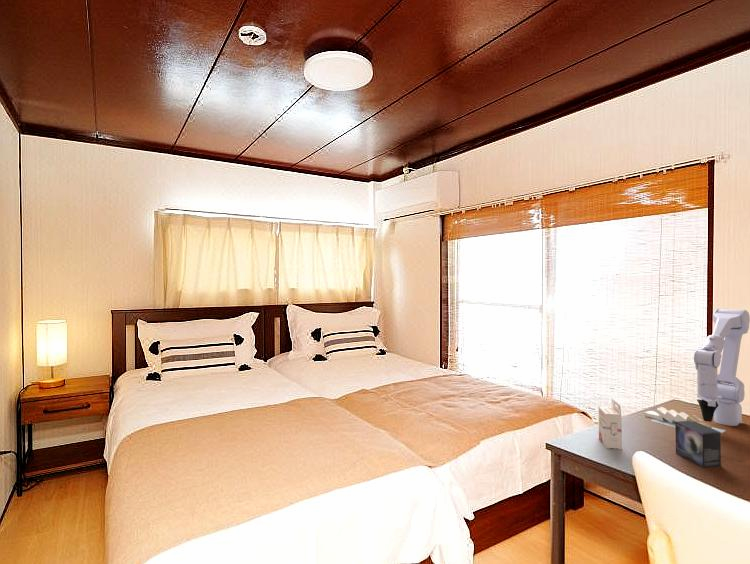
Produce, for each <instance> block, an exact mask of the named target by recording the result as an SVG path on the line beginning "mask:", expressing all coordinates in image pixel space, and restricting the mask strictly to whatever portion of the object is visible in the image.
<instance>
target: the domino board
mask: <svg viewBox="0 0 750 564" xmlns="http://www.w3.org/2000/svg"><path fill="white" fill-rule="evenodd" d="M649 421H650V422H653V423H657V424H661V425H664V426H668V427H671V428H675V422H673V423H670V422H669V421H667V420H664V421H661V420H657V419H654V418H652V419H651V420H649ZM712 429H714V430H717V431H719V432H721V434H723V433H726V432H727V430H725V429H721V428H717V427H714V426H712Z"/></svg>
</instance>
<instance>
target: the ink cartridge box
mask: <svg viewBox="0 0 750 564" xmlns="http://www.w3.org/2000/svg"><path fill="white" fill-rule="evenodd" d="M611 403H612V406H600V405H599V406H598V439H599V441H600V440H601V441H600V442H601V443H602V445H603V446H604V445H605V446H606V447H605V446H604V447H605V449H610V448H619V449H618V450H622V449H623V440H622V439H623V438H622V437H623V436H622V435H623V434H622V433H623V432H622V431H623V430H622V429H623V428H622V427H623V426H622V410H621V404H619V403H618V401H616V400H615V399H614V398H611Z"/></svg>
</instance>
